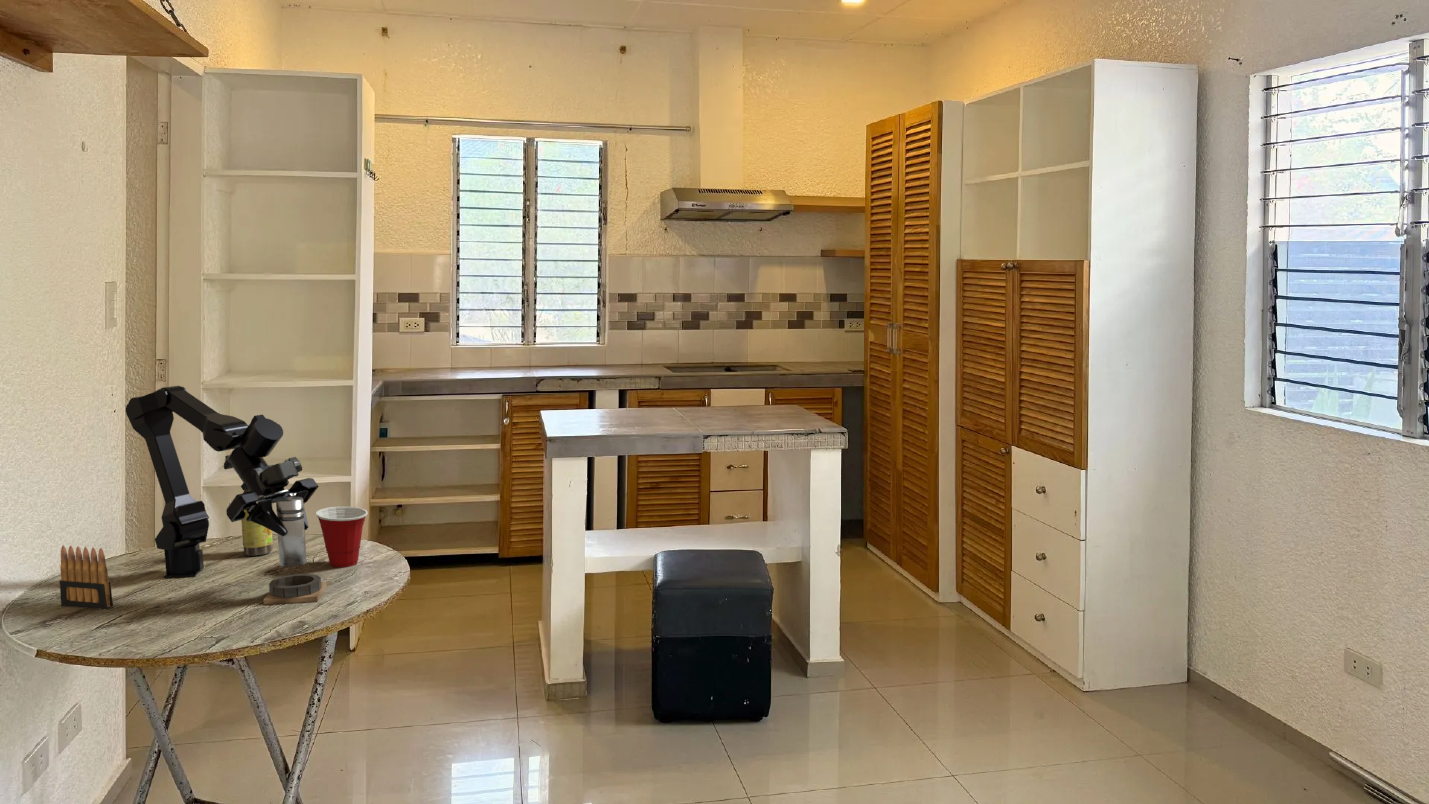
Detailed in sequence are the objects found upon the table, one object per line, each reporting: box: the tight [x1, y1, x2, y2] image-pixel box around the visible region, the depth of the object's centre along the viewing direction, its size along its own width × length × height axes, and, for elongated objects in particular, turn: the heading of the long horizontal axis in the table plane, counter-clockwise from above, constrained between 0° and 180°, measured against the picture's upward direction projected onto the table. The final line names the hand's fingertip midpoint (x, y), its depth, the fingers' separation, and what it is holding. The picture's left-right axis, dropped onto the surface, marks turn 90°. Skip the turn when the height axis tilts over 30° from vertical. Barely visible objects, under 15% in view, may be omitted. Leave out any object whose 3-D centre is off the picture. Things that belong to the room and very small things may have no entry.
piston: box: [275, 497, 307, 568], centre depth 219 cm, size 5×5×13 cm
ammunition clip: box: [59, 544, 114, 610], centre depth 214 cm, size 11×2×12 cm, turn 76°
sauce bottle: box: [240, 489, 274, 557], centre depth 251 cm, size 6×6×20 cm
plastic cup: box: [315, 505, 369, 568], centre depth 242 cm, size 11×11×12 cm
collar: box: [263, 573, 328, 605], centre depth 220 cm, size 10×10×3 cm
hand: (296, 531), depth 218 cm, fingers closed on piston, 5 cm apart
